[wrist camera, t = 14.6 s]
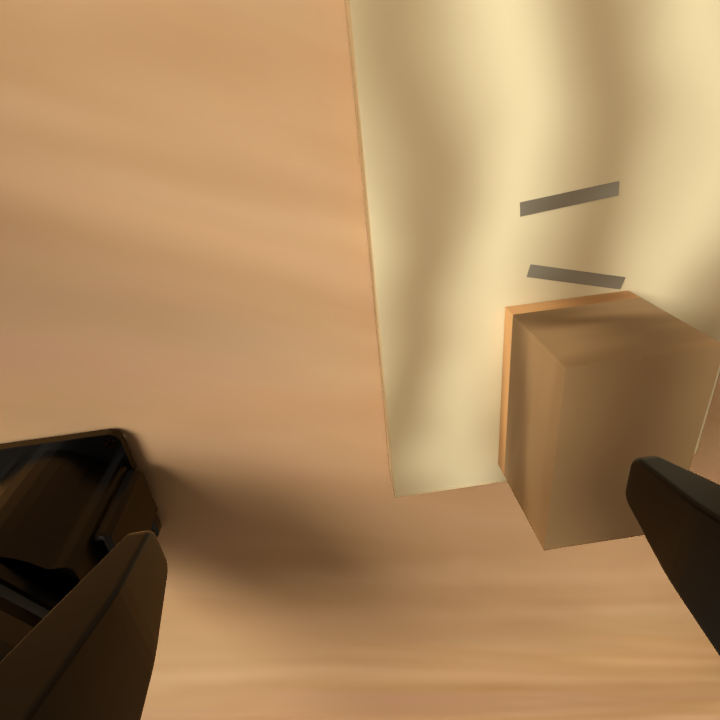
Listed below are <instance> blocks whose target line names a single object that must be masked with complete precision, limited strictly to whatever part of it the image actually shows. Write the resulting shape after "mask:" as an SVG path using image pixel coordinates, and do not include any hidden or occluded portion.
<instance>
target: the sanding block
mask: <svg viewBox="0 0 720 720" xmlns="http://www.w3.org/2000/svg"><path fill="white" fill-rule="evenodd" d="M719 366H720V342H718V341H716V340H715V339H713V338H711V337H709V336H708V335H706V334H704V333H702V332H701V331H699V330H697V329H695V328H693V327H692V326H690V325H688V324H686V323H685V322H683V321H681V320H679V319H678V318H676V317H674V316H672V315H671V314H669V313H667V312H665V311H664V310H662V309H660V308H658V307H657V306H655V305H653V304H651V303H650V302H648V301H646V300H644V299H643V298H641V297H639V296H637V295H636V294H634V293H632V292H630V291H620V292H613V293H605V294H598V295H590V296H583V297H575V298H568V299H561V300H553V301H546V302H538V303H531V304H523V305H516V306H508V307H505V321H504V343H503V365H502V386H501V408H500V430H499V451H498V465H499V467H500V469H501V471H502V473H503V474H504V476H505V478H506V480H507V482H508V484H509V486H510V487H511V489H512V491H513V493H514V495H515V497H516V499H517V501H518V502H519V504H520V506H521V508H522V510H523V512H524V514H525V515H526V517H527V519H528V521H529V523H530V525H531V527H532V529H533V530H534V532H535V534H536V536H537V538H538V540H539V542H540V543H541V545H542V547H543V549H544V550H549V549H556V548H562V547H569V546H575V545H582V544H588V543H595V542H601V541H608V540H614V539H621V538H627V537H634V536H640V535H644V533H643V531H642V529H641V527H640V525H639V524H638V522H637V520H636V518H635V516H634V514H633V512H632V510H631V509H630V507H629V505H628V503H627V500H626V496H625V489H626V484H627V479H628V475H629V470H630V465H631V462H632V461H633V460H634V459H636V458H641V457H648V456H658V457H661V458H663V459H665V460H667V461H669V462H671V463H674V464H676V465H678V466H680V467H682V468H684V469H686V470H689V468H690V464H691V461H692V458H693V454H694V451H695V447H696V444H697V441H698V437H699V434H700V430H701V427H702V424H703V420H704V417H705V413H706V410H707V407H708V403H709V400H710V396H711V393H712V390H713V386H714V383H715V379H716V376H717V372H718V369H719Z"/></svg>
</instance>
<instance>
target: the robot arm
mask: <svg viewBox="0 0 720 720" xmlns="http://www.w3.org/2000/svg"><path fill="white" fill-rule="evenodd" d="M108 439H112V440H114V441H115V443H112V442H109V441H108ZM625 496H626V500H627V503H628V505H629V507H630V509H631V510H632V512H633V514H634V516H635V518H636V520H637V522H638V524H639V525H640V527H641V529H642V531H643V533H644V535H645V537H646V538H647V540H648V542H649V544H650V546H651V548H652V550H653V552H654V553H655V555H656V557H657V559H658V561H659V563H660V565H661V566H662V568H663V570H664V572H665V573H666V575H667V577H668V579H669V580H670V582H671V583H672V585H673V586H674V588H675V590H676V591H677V593H678V594H679V596H680V597H681V599H682V600H683V602H684V603H685V605H686V606H687V608H688V609H689V611H690V612H691V614H692V615H693V617H694V618H695V620H696V621H697V623H698V624H699V626H700V627H701V629H702V630H703V632H704V633H705V635H706V636H707V637H708V639H709V640H710V642H711V643H712V645H713V646H714V648H715V649H716V651H717V652H718V654H719V655H720V485H719V484H716V483H714V482H712V481H710V480H708V479H706V478H704V477H701V476H699V475H697V474H695V473H693V472H691V471H689V470H686V469H684V468H682V467H680V466H678V465H676V464H674V463H671V462H669V461H667V460H665V459H663V458H661V457H658V456H648V457H641V458H636V459H634V460H633V461H632V462H631V465H630V470H629V475H628V479H627V484H626V489H625ZM156 513H157V506H156V504H155V501H154V499H153V497H152V494H151V492H150V489H149V487H148V484H147V482H146V480H145V477H144V475H143V472H142V471H141V470H140V469H139V468H137V466H136V463H135V461H134V459H133V456H132V454H131V451H130V449H129V447H128V444H127V442H126V439H125V437H124V435H123V434H122V433H121V432H119V431H118V430H114V429H107V430H100V431H93V432H86V433H79V434H72V435H64V436H57V437H50V438H43V439H36V440H29V441H21V442H14V443H7V444H0V720H140V719H141V715H142V711H143V707H144V703H145V699H146V695H147V691H148V687H149V683H150V679H151V675H152V670H153V666H154V661H155V656H156V650H157V644H158V636H159V629H160V622H161V615H162V608H163V601H164V594H165V587H166V580H167V561H166V558H165V556H164V553H163V551H162V549H161V546H160V544H159V542H158V539H157V536H158V535H159V532H160V530H161V524H160V521H159V519H158V516H157V514H156ZM150 529H152V530H150Z"/></svg>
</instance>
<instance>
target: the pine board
mask: <svg viewBox="0 0 720 720" xmlns="http://www.w3.org/2000/svg"><path fill="white" fill-rule="evenodd" d="M345 3H346V14H347V24H348V35H349V46H350V56H351V67H352V77H353V88H354V98H355V109H356V119H357V130H358V140H359V151H360V162H361V172H362V183H363V193H364V204H365V214H366V225H367V235H368V246H369V256H370V267H371V277H372V288H373V299H374V309H375V320H376V330H377V341H378V351H379V362H380V372H381V383H382V393H383V404H384V415H385V425H386V436H387V446H388V457H389V467H390V477H391V482H392V486H393V490H394V495H395V498H397V497H403V496H410V495H417V494H424V493H430V492H437V491H444V490H451V489H457V488H464V487H471V486H478V485H484V484H491V483H498V482H504V481H507V480H506V478H505V476H504V474H503V473H502V471H501V469H500V467H499V465H498V451H499V430H500V408H501V386H502V365H503V343H504V321H505V307H508V306H516V305H523V304H531V303H538V302H546V301H553V300H561V299H568V298H575V297H583V296H590V295H598V294H605V293H613V292H620V291H630V292H632V293H634V294H636V295H637V296H639V297H641V298H643V299H644V300H646V301H648V302H650V303H651V304H653V305H655V306H657V307H658V308H660V309H662V310H664V311H665V312H667V313H669V314H671V315H672V316H674V317H676V318H678V319H679V320H681V321H683V322H685V323H686V324H688V325H690V326H692V327H693V328H695V329H697V330H699V331H701V332H702V333H704V334H706V335H708V336H709V337H711V338H713V339H715V340H716V341H718V342H720V0H345ZM719 373H720V366H719V369H718V372H717V376H716V379H715V383H714V386H713V390H712V393H711V396H710V400H709V403H708V407H707V410H706V413H705V417H704V420H703V424H702V427H701V430H700V434H699V437H698V441H697V444H696V447H695V451H694V453H696V452H697V449H698V446H699V442H700V439H701V435H702V432H703V428H704V425H705V421H706V418H707V415H708V411H709V408H710V404H711V401H712V397H713V394H714V390H715V387H716V384H717V380H718V377H719Z"/></svg>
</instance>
